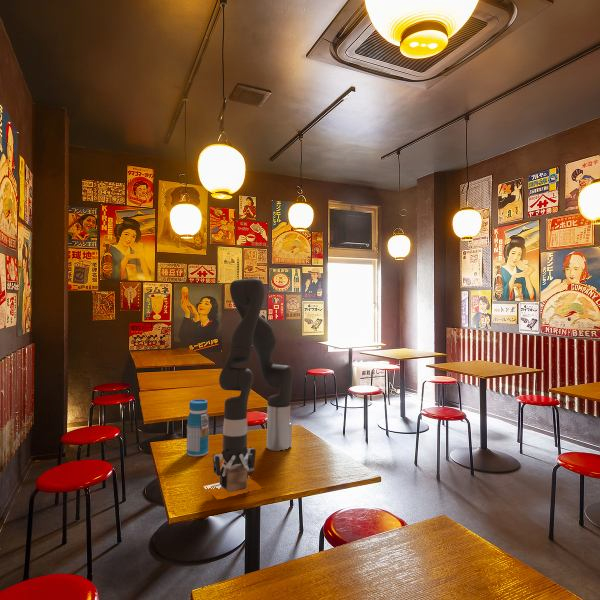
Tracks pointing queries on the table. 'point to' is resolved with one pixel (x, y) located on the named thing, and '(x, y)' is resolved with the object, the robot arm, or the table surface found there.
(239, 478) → the walnut block
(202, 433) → the beverage bottle
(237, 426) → the robot arm
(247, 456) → the slate cube
